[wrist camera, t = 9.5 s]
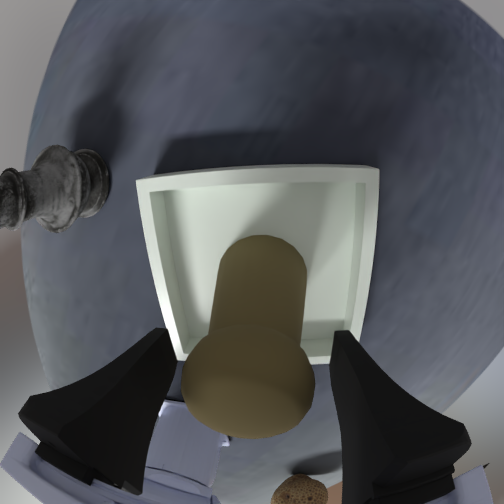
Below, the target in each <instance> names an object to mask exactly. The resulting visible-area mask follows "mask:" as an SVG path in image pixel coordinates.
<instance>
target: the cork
mask: <svg viewBox="0 0 504 504" xmlns="http://www.w3.org/2000/svg"><path fill="white" fill-rule="evenodd" d="M306 287H307V268H306V265H305V262H304V259H303V257H302V256H301V255H300V253H299V252H298V251H297V250H296V248H295V247H294V246H292V245H291V244H289V243H288V242H286V241H285V240H283V239H281V238H277V237H274V236H270V235H252V236H249V237H246V238H243V239H240V240H238V241H237V242H235V243H234V244H233V245H232V246H230V247H229V248H228V249H227V250H226V252H225V253H224V255H223V256H222V258H221V260H220V264H219V269H218V274H217V280H216V286H215V292H214V298H213V305H212V311H211V318H210V324H209V331H208V335H207V336H205V337H203V338H202V339H201V340H200V341H199V342H198V344H197V345H196V346H195V347H194V349H193V350H192V351H191V353H190V354H189V355H188V357H187V359H186V361H185V364H184V366H183V370H182V379H181V393H182V395H183V398H184V401H185V403H186V406H187V408H188V410H189V412H190V413H191V414H192V415H193V416H194V417H195V418H196V419H197V420H198V421H199V422H201V423H202V424H204V425H206V426H207V427H209V428H210V429H212V430H214V431H217V432H219V433H222V434H225V435H228V436H232V437H237V438H247V439H258V438H267V437H272V436H275V435H278V434H282V433H285V432H287V431H289V430H291V429H292V428H294V427H295V426H297V425H298V424H299V423H300V421H301V420H302V419H303V418H304V416H305V415H306V413H307V412H308V411H309V409H310V408H311V405H312V401H313V397H314V390H315V377H314V372H313V369H312V367H311V364H310V361H309V359H308V357H307V355H306V353H305V351H304V350H303V349H302V348H301V347H300V344H301V336H302V327H303V318H304V308H305V298H306Z"/></svg>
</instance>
